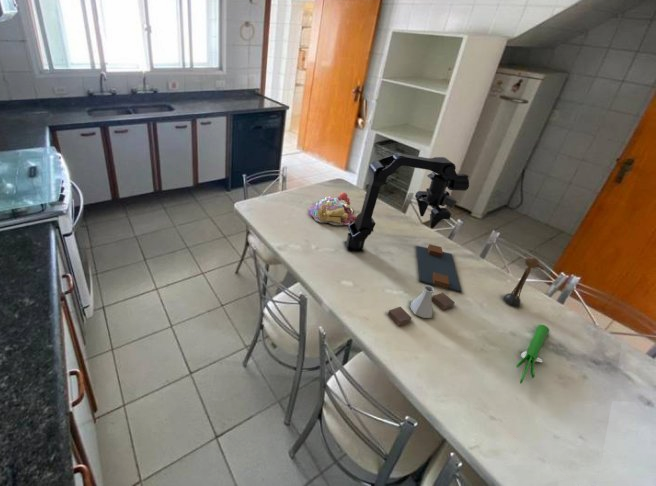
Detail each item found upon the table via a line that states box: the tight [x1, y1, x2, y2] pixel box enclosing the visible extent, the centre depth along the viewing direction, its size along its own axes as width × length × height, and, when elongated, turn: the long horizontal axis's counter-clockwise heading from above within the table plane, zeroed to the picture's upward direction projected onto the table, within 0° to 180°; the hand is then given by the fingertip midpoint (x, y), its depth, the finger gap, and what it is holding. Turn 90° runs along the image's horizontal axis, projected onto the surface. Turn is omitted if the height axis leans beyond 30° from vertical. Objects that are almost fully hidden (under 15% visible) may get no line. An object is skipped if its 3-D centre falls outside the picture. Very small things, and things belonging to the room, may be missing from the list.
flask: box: [410, 284, 435, 319], centre depth 111 cm, size 7×7×10 cm
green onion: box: [516, 323, 550, 384], centre depth 98 cm, size 5×3×30 cm
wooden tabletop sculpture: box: [503, 256, 546, 308], centre depth 114 cm, size 6×5×20 cm
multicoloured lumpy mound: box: [308, 191, 357, 226], centre depth 167 cm, size 25×24×9 cm
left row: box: [387, 292, 455, 327], centre depth 113 cm, size 5×25×2 cm, turn 112°
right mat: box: [416, 243, 462, 293], centre depth 133 cm, size 14×25×3 cm, turn 159°
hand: (426, 221), depth 138 cm, fingers open, 9 cm apart
